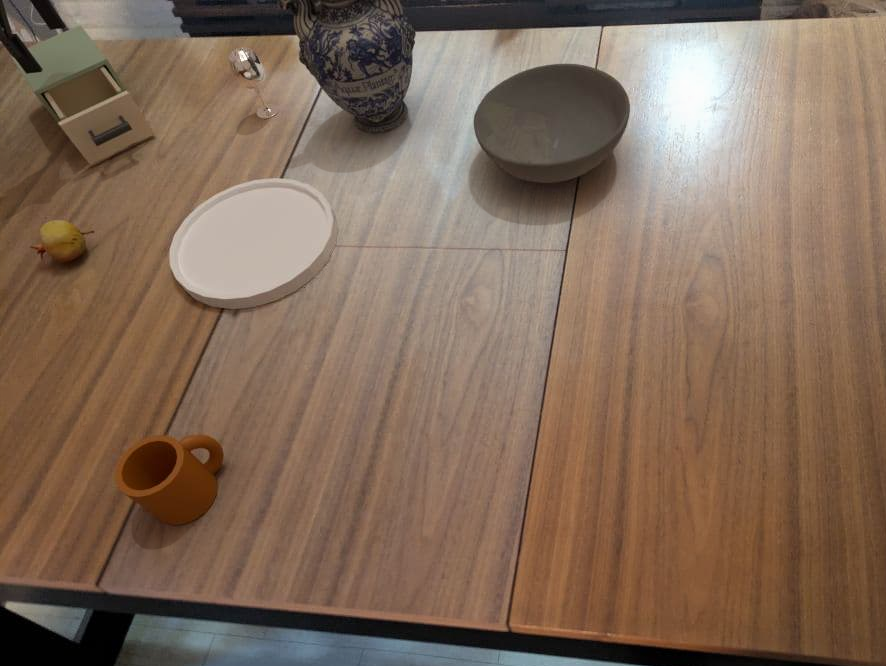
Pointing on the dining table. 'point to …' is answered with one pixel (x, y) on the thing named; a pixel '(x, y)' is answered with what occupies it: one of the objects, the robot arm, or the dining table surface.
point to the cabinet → (64, 63)
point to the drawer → (97, 114)
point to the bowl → (552, 121)
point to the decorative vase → (358, 56)
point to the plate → (253, 243)
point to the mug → (170, 476)
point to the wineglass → (251, 76)
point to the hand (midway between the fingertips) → (46, 49)
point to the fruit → (61, 241)
